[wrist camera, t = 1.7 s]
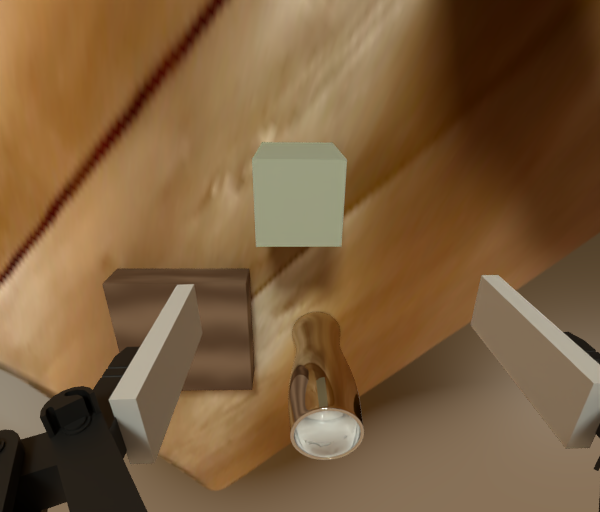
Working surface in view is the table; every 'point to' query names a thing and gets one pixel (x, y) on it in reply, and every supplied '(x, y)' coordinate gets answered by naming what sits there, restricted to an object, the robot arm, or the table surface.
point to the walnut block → (213, 316)
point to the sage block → (298, 194)
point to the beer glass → (322, 392)
